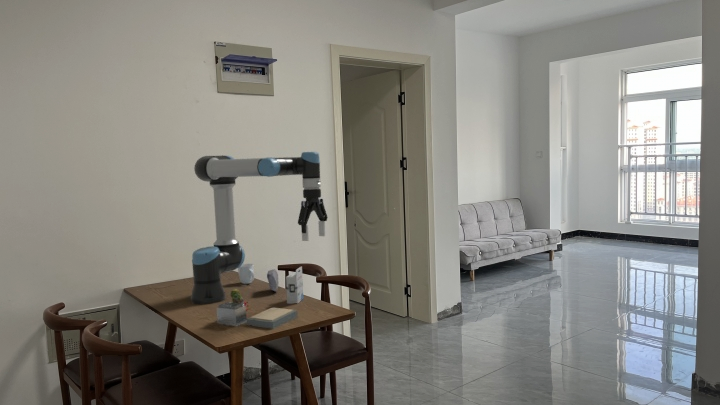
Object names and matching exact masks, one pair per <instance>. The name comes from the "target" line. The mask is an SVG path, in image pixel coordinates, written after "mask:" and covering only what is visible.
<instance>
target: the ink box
mask: <svg viewBox="0 0 720 405" xmlns="http://www.w3.org/2000/svg"><path fill="white" fill-rule="evenodd" d="M303 280H304V279H303V266H299V267H298V268H297V269H295V272H292V273H290V274H289V275H287V276H285V282H286V283H285V284H286V285H285V286H286V303H287V304H294V303H297V304H299V303H300V302H301V301H302V300H303V299H304V284H303V282H304V281H303Z"/></svg>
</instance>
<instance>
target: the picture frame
mask: <svg viewBox="0 0 720 405" xmlns="http://www.w3.org/2000/svg"><path fill="white" fill-rule="evenodd" d="M298 317H299V316H298V309H290V308H288V309H287V308H279V307H270V308H268V309H266V310H263V311H261V312H259V313H257V314H254V315H251V316H250V317H246V320H247V322H246V325H247V326H250V325H252V326H251V327H259V328H264V329H271V330H274V329H275V328H276V329H277V328H278V327H280V326H283V325H285V324H287V323H288V322H291V321H293V320H296V319H297V318H298Z"/></svg>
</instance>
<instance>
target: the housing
mask: <svg viewBox="0 0 720 405" xmlns="http://www.w3.org/2000/svg"><path fill="white" fill-rule="evenodd" d="M246 308H247V304H246V305H244V304H242V303H233V301H231V302H230V301H226V302H224V303H223V302H222V303H221V304H218V305H217V306H216V321H217V322H216V323H217V324H218V325H223V324H226V325H225V326H229V325H232V326H231V327H239V326H241V325H243V324H246V323H247V311H246ZM245 322H246V323H245ZM240 324H241V325H240ZM238 325H239V326H238Z"/></svg>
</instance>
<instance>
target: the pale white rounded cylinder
mask: <svg viewBox="0 0 720 405" xmlns="http://www.w3.org/2000/svg"><path fill="white" fill-rule="evenodd" d="M237 269H238V272H237V273H238V278H239V281H240V283H241V284H243V285H248V284H252V283H253V281H254V280H255V266H254V264H253V263H243V264H242V265H241V266H240V267H239V268H237Z"/></svg>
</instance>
